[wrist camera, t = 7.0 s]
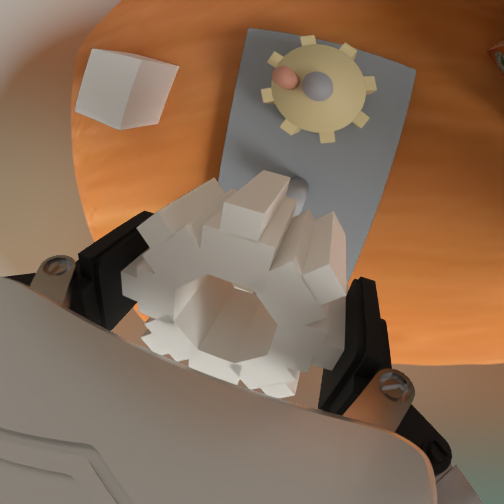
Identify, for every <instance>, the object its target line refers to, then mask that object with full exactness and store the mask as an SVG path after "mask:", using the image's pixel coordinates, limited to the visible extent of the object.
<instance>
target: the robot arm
mask: <svg viewBox="0 0 504 504" xmlns="http://www.w3.org/2000/svg"><path fill="white" fill-rule="evenodd" d="M153 214H154V213H151V212H147V211H143V212H141V213H140V214H138V215H136V216H135V217H133V218H131V219H130V220H128V221H127V222H125V223H124V224H122V225H120V226H119V227H117V228H116V229H114V230H113V231H111V232H110V233H108V234H106V235H105V236H103V237H102V238H100V239H99V240H97V241H96V242H94V243H93V244H92V245H90V246H89V247H87V248H86V249H84V250H83V251H81V252H80V253H79V254H78V257H79V260H78V261H76V262H75V260H74V259H73V258H71V257H69V256H66V255H56V256H53V257H50V258H48V259H46V260H45V261H43V263H42V264H41V265H40V267H39V269H38V270H37V273H31V274H24V275H15V276H7V277H0V504H482V501H481V499H480V498H479V496H478V495H477V493H476V492H475V490H474V489H473V487H472V486H471V485H470V483H469V482H468V480H467V479H466V478H465V476H464V475H463V473H462V472H461V471H460V469H459V468H458V467H457V466H456V465H455V466H453V467H452V465H451V464H450V463H451V459H452V453H451V449H450V446H449V444H448V443H447V442H446V440H445V439H444V438H443V437H442V436H441V435H440V434H439V433H438V432H437V431H436V430H435V429H434V428H433V426H431V424H430V423H429V422H428V421H427V420H426V419H425V418H424V417H423V416H422V415H421V414H420V413H419V412H418V411H417V410H416V409H415V408H414V407H413V405H412V404H411V403H412V401H413V399H414V396H415V389H414V386H413V384H412V382H411V381H410V379H409V378H408V377H407V376H406V375H405V374H404V373H402V372H400V371H398V370H395V369H392V367H391V357H390V348H389V340H388V332H387V325H386V321H385V320H384V319H381V318H380V311H379V304H378V297H377V290H376V284H375V281H373V280H370V279H367V278H364V277H360V278H359V280H357V279H354V280H353V282H352V284H351V286H350V289H349V291H348V293H347V295H346V312H345V346H344V351H343V353H342V355H341V356H340V358H339V360H338V361H337V363H336V365H335V366H334V368H333V370H328V369H324V368H323V375H322V383H321V391H320V397H319V403H318V409H320V410H317V409H313V408H310V407H306V406H303V405H299V404H296V403H292V402H289V401H285V400H282V399H279V398H275V397H272V396H269V395H265V394H262V393H259V392H256V391H253V390H250V389H247V388H244V387H241V386H238V385H235V384H232V383H230V382H227V381H224V380H221V379H219V378H216V377H213V376H211V375H208V374H205V373H203V372H200V371H198V370H195V369H193V368H190V367H187V366H185V365H182V364H180V363H178V362H175V361H173V360H170V359H168V358H166V357H164V356H162V355H159V354H157V353H155V352H153V351H150V350H148V349H146V348H144V347H142V346H140V345H137V344H135V343H133V342H131V341H129V340H127V339H125V338H123V337H121V336H119V335H117V334H115V333H113V332H111V331H110V330H112V329H113V328H114V327H115V326H116V325H117V324H118V323H119V321H120V320H121V319H122V318H123V317H124V316H125V315H126V314H127V313H128V312H129V311H130V310H131V308H132V307H133V306H134V305H135V304H136V303H137V301H135V300H132V299H130V298H128V297H126V296H124V295H123V293H122V280H121V271H122V270H123V269H124V268H126V267H127V266H128V265H129V264H130V263H132V262H133V261H134V260H135V259H136V258H137V257H139V256H140V255H141V254H142V253H143V252H145V251H146V250H147V249H148V248H149V246H148V244H147V243H146V241H145V240H144V238H143V237H142V235H141V234H140V232H139V231H138V229H137V227H138V226H139V225H140V224H142V223H143V222H144V221H146V220H147V219H148V218H150V217H151V216H152V215H153ZM321 410H322V411H321Z"/></svg>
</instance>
